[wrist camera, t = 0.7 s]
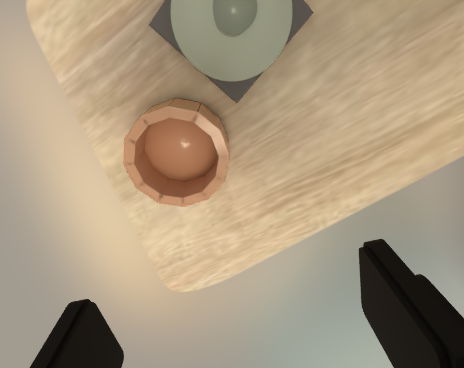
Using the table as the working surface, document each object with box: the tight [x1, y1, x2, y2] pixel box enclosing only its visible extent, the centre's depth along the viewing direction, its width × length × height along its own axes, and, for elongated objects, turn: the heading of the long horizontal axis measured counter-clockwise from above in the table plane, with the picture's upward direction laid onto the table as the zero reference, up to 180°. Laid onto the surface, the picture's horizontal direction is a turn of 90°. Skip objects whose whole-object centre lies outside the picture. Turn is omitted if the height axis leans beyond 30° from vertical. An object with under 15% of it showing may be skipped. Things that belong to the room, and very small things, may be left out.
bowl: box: [123, 98, 230, 207], centre depth 30 cm, size 10×10×5 cm
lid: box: [170, 0, 293, 81], centre depth 24 cm, size 11×11×7 cm
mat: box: [149, 0, 314, 103], centre depth 27 cm, size 11×11×1 cm
